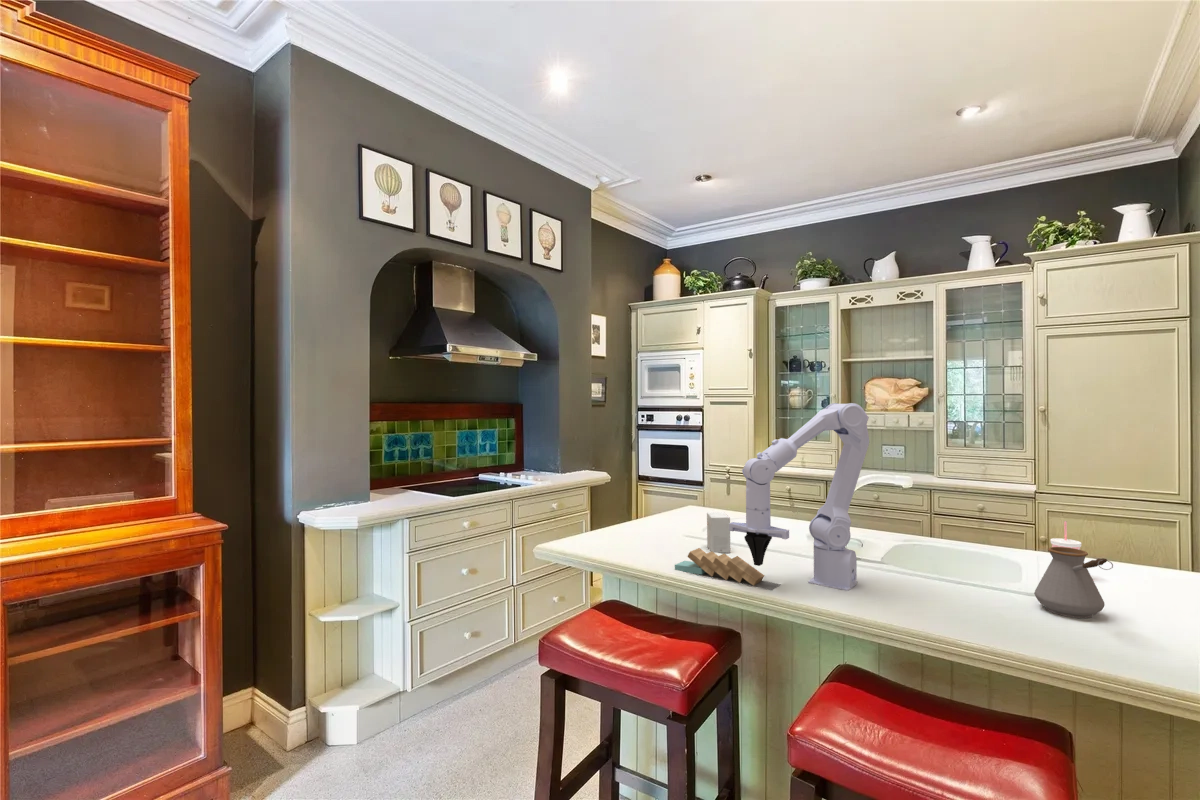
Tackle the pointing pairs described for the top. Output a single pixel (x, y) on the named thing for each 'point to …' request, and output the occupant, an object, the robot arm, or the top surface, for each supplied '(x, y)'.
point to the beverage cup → (1065, 541)
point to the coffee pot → (1070, 584)
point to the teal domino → (689, 567)
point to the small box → (718, 532)
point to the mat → (745, 582)
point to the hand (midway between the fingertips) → (758, 564)
